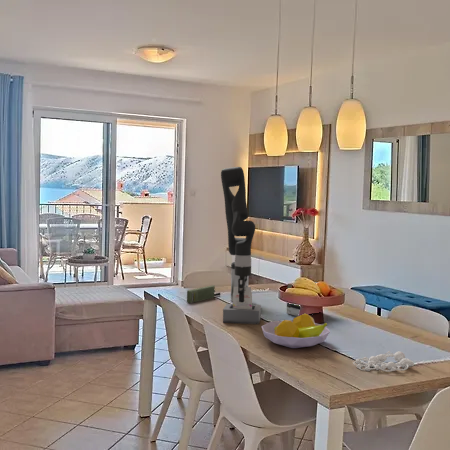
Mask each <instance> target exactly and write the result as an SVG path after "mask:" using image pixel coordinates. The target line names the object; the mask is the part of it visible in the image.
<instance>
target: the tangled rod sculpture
mask: <svg viewBox="0 0 450 450" xmlns="http://www.w3.org/2000/svg"><path fill="white" fill-rule="evenodd" d="M390 357H391V358H393V359H394V360H395V361H396V362H394V361H389V362H385V361H387V358H390ZM361 360H362V361H361ZM352 364H353V365H354V366H355V367H356V368H357V369H358V370H360V371H366V372H370V371H371V370H377V371H379V370H381V371H383V372H387V373H388V372H389V373H390V372H394V371H406V370H408V369H409V368H411V367H413V366H414V365H415V362H414V361H413V360H412V359H410V358H406V355H405V353H404V352H403V351H399V350H398V351H396V352H395V353H393V352H391V350H388V351H387V352H386V353H380V354H377V355H376V356H375V355H372V356H370V357H367V356H365V357H362V358H357V359H355V361H353V362H352ZM363 367H365V368H363ZM386 368H387V369H386Z"/></svg>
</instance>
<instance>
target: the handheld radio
mask: <svg viewBox="0 0 450 450" xmlns="http://www.w3.org/2000/svg"><path fill="white" fill-rule="evenodd" d="M215 286H216V285H213V284H212V285H209V286H203V287H199V288H193V289H189V290H187V291H186V303H187V302H188V303H187V304H192V302H193V303H196V302H200V301H204V300H210V299H214V298H215V297H217V296H221V294H222V293H221V292H218V293H217V292H216V290H215V289H216V287H215Z"/></svg>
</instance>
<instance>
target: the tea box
mask: <svg viewBox="0 0 450 450" xmlns="http://www.w3.org/2000/svg"><path fill="white" fill-rule="evenodd" d="M314 282H315V283H318V282H316V281H314ZM293 283H294V282H291V283H287V289H288V288H291V287H292V286H293V285H292V284H293ZM299 310H300V306H299V305H294V304H289V303H287V302H286V310H285V311H286V312H285V313H286V314H288V315H291V316H295V317H298V314H299Z"/></svg>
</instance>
